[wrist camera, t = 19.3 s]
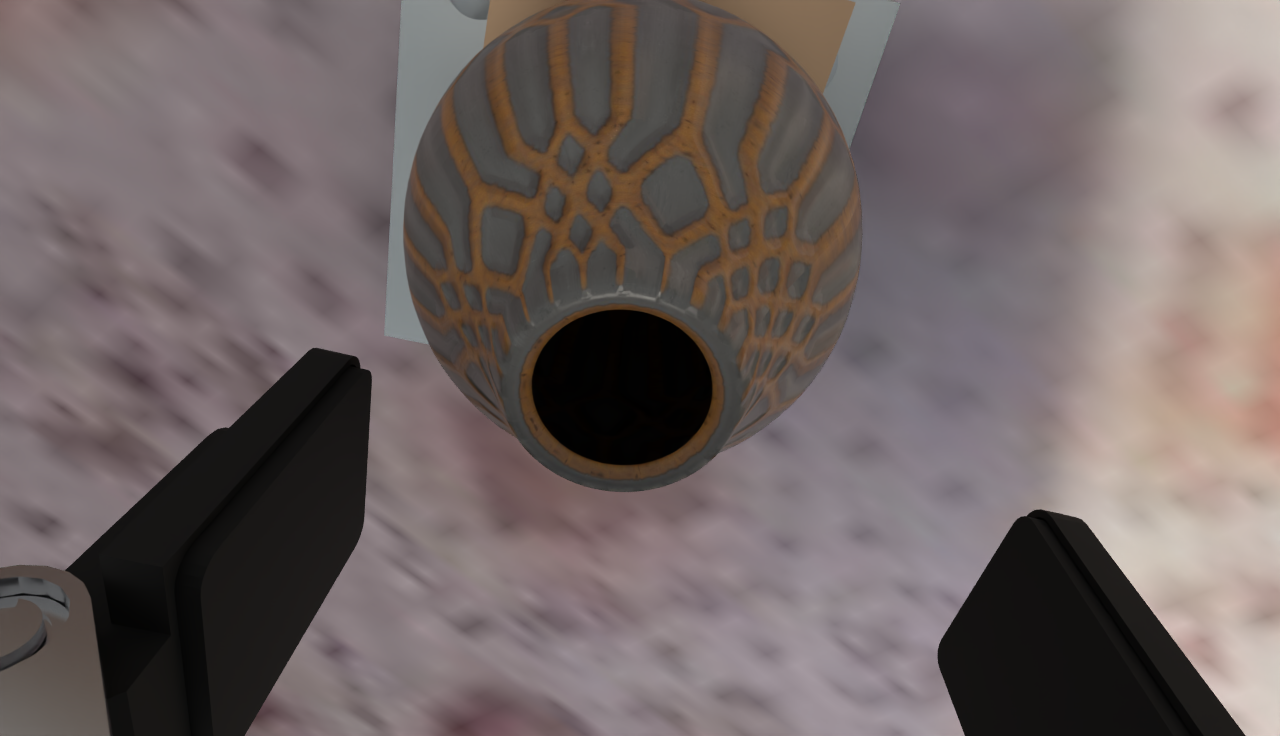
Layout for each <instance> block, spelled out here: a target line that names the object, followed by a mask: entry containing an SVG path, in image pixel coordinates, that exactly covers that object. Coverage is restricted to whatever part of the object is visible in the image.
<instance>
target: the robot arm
mask: <svg viewBox="0 0 1280 736" xmlns="http://www.w3.org/2000/svg"><path fill="white" fill-rule="evenodd" d="M371 386H372V376H371V372H370V371H369V370H365V369H360V363H359V359H358V358H357V357H355V356H351V355H346V354H342V353H337V352H333V351H328V350H324V349H319V348H312V349H311V350H309V351H308V352H307V353H306V354H305V355H304V356H303V357H302V358H301V359H300V360H299V361H298V362H297V363H296V364H295V365H294V366H293V367H292V368H291V369H290V370H288V371H287V372H286V373H285V374H284V375H283V376H282V377H281V378H280V379H279V380H278V381H277V382H276V383H275V384H274V385H273V386H272V387H271V388H270V389H269V390H268V391H267V392H266V393H265V394H264V395H263V396H262V397H261V398H260V399H259V400H258V401H256V402H255V403H254V404H253V405H252V406H251V407H250V408H249V409H248V410H247V411H246V412H245V413H244V414H243V415H242V416H241V417H240V418H239V419H238V420H237V421H236V422H235V423H234V424H233V425H232V426H231V427H230V428H226V427H225V428H221V429H217V430H216V431H214V432H213V433H211V434H210V435H209V436H207V437H206V438H205V439H204V440H203V441H202V442H201V443H200V444H199V445H198V446H197V447H196V448H195V449H194V450H193V451H191V452H190V453H189V454H188V455H187V456H186V457H185V458H184V459H183V460H182V461H181V462H180V463H179V464H178V465H177V466H176V467H174V468H173V469H172V470H171V471H170V472H169V473H168V474H167V475H166V476H165V477H164V478H163V479H162V480H161V481H160V482H159V483H157V484H156V485H155V486H154V487H153V488H152V489H151V490H150V491H149V492H148V493H147V494H146V495H145V496H144V497H143V498H142V499H141V500H139V501H138V502H137V503H136V504H135V505H134V506H133V507H132V508H131V509H130V510H129V511H128V512H127V513H126V514H125V515H124V516H122V517H121V518H120V519H119V520H118V521H117V522H116V523H115V524H114V525H113V526H112V527H111V528H110V529H109V530H108V531H107V532H105V533H104V534H103V535H102V536H101V537H100V538H99V539H98V540H97V541H96V542H95V543H94V544H93V545H92V546H91V547H90V548H88V549H87V550H86V551H85V552H84V553H83V554H82V555H81V556H80V557H79V558H78V559H77V560H76V561H75V562H74V563H73V564H72V565H70V566H69V567H68V568H67V569H66V570H65V571H64V570H60V569H57V568H53V567H49V566H38V565H15V566H8V567H2V568H0V736H245V734H246V732H247V731H248V729H249V727H250V725H251V724H252V722H253V720H254V719H255V717H256V715H257V713H258V712H259V710H260V708H261V707H262V705H263V703H264V702H265V700H266V698H267V696H268V695H269V693H270V691H271V690H272V688H273V686H274V685H275V683H276V681H277V679H278V678H279V676H280V674H281V673H282V671H283V669H284V668H285V666H286V664H287V662H288V661H289V659H290V657H291V656H292V654H293V652H294V650H295V649H296V647H297V645H298V644H299V642H300V640H301V639H302V637H303V635H304V633H305V632H306V630H307V628H308V627H309V625H310V623H311V622H312V620H313V618H314V616H315V615H316V613H317V611H318V610H319V608H320V606H321V604H322V603H323V601H324V599H325V598H326V596H327V594H328V593H329V591H330V589H331V587H332V586H333V584H334V582H335V581H336V579H337V577H338V576H339V574H340V572H341V570H342V569H343V567H344V565H345V564H346V562H347V560H348V559H349V557H350V555H351V553H352V552H353V550H354V548H355V546H356V545H357V543H358V540H359V538H360V535H361V532H362V528H363V524H364V513H365V495H366V476H367V458H368V440H369V422H370V404H371ZM938 664H939V668H940V671H941V673H942V676H943V679H944V681H945V684H946V687H947V689H948V692H949V695H950V697H951V700H952V703H953V705H954V708H955V710H956V713H957V716H958V718H959V721H960V724H961V726H962V729H963V732H964V734H965V736H1245V734H1244V733H1243V732H1242V730H1241V729H1240V728H1239V726H1238V725H1237V724H1236V722H1235V721H1234V720H1233V718H1232V717H1231V716H1230V714H1229V713H1228V712H1227V710H1226V709H1225V708H1224V706H1223V705H1222V704H1221V702H1220V701H1219V700H1218V698H1217V697H1216V696H1215V694H1214V693H1213V692H1212V690H1211V689H1210V688H1209V686H1208V685H1207V684H1206V682H1205V681H1204V680H1203V678H1202V677H1201V676H1200V674H1199V673H1198V672H1197V670H1196V669H1195V668H1194V666H1193V665H1192V664H1191V662H1190V661H1189V660H1188V659H1187V657H1186V656H1185V655H1184V653H1183V652H1182V651H1181V649H1180V648H1179V647H1178V645H1177V644H1176V643H1175V641H1174V640H1173V639H1172V637H1171V636H1170V635H1169V633H1168V632H1167V631H1166V629H1165V628H1164V627H1163V625H1162V624H1161V623H1160V621H1159V620H1158V619H1157V617H1156V616H1155V615H1154V613H1153V612H1152V611H1151V609H1150V608H1149V607H1148V605H1147V604H1146V603H1145V601H1144V600H1143V599H1142V597H1141V596H1140V595H1139V593H1138V592H1137V591H1136V589H1135V588H1134V587H1133V585H1132V584H1131V583H1130V581H1129V580H1128V579H1127V577H1126V576H1125V575H1124V573H1123V572H1122V571H1121V569H1120V568H1119V567H1118V565H1117V564H1116V563H1115V561H1114V560H1113V559H1112V557H1111V556H1110V555H1109V553H1108V552H1107V551H1106V549H1105V548H1104V547H1103V545H1102V544H1101V543H1100V541H1099V540H1098V539H1097V537H1096V536H1095V535H1094V533H1093V532H1092V531H1091V529H1090V528H1089V527H1088V525H1087V524H1086V523H1085V522H1084V521H1083V520H1081V519H1079V518H1076V517H1072V516H1068V515H1063V514H1059V513H1054V512H1050V511H1045V510H1041V509H1040V510H1034V511H1032V512H1031V513H1029V514H1028V515H1027V517H1026V516H1024V517H1020V518H1018V519H1017V520H1016V521H1015V522H1014V524H1013V525H1012V527H1011V528H1010V530H1009V532H1008V533H1007V535H1006V536H1005V538H1004V540H1003V541H1002V543H1001V544H1000V546H999V548H998V549H997V551H996V552H995V554H994V556H993V557H992V559H991V561H990V562H989V564H988V565H987V567H986V569H985V570H984V572H983V573H982V575H981V577H980V578H979V580H978V581H977V583H976V585H975V586H974V588H973V589H972V591H971V593H970V594H969V596H968V598H967V599H966V601H965V602H964V604H963V606H962V607H961V609H960V610H959V612H958V614H957V615H956V617H955V618H954V620H953V622H952V623H951V625H950V627H949V628H948V630H947V631H946V633H945V635H944V636H943V638H942V639H941V642H940V644H939V648H938Z"/></svg>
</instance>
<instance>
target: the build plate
mask: <svg viewBox="0 0 1280 736" xmlns="http://www.w3.org/2000/svg"><path fill="white" fill-rule="evenodd" d="M849 1H852V2H856V3H855V6H854V9H853V12H852V15H851V17H850V20H849V23H848V26H847V28H846V31H845V34H844V37H843V40H842V42H841V45H840V48H839V51H838V53H837V56H836V59H835V62H834V64H833V67H832V70H831V73H830V76H829V78H828V81H827V84H826V87H825V89H824V92H823V95H824V97H825V98H826V100H827V102H828V104H829V105H830V107H831V109H832V110H833V112H834V114H835V116H836V118H837V120H838V123H839V125H840V127H841V129H842V131H843V134H844V137H845V139H846V142H847V145H848V148H849V149H850V146H851V143H852V140H853V137H854V134H855V132H856V129H857V126H858V123H859V120H860V117H861V114H862V112H863V109H864V106H865V103H866V100H867V97H868V94H869V92H870V89H871V86H872V83H873V80H874V77H875V74H876V72H877V69H878V66H879V63H880V60H881V57H882V55H883V52H884V49H885V46H886V43H887V40H888V37H889V35H890V32H891V29H892V26H893V23H894V20H895V17H896V15H897V12H898V9H899V6H900V3H898V2H894V1H890V0H849ZM489 4H490V0H401V19H400V38H399V58H398V77H397V97H396V116H395V136H394V155H393V175H392V195H391V214H390V234H389V253H388V273H387V292H386V312H385V331H384V335H385V336H390V337H395V338H400V339H405V340H410V341H415V342H420V343H425V344H429V343H428V341H427V339H426V336H425V334H424V332H423V329H422V327H421V325H420V322H419V319H418V317H417V314H416V311H415V308H414V305H413V301H412V298H411V294H410V290H409V285H408V279H407V274H406V267H405V258H404V247H403V223H404V208H405V198H406V191H407V185H408V180H409V176H410V172H411V168H412V164H413V160H414V156H415V153H416V150H417V147H418V144H419V142H420V139H421V136H422V134H423V132H424V130H425V127H426V125H427V123H428V121H429V119H430V117H431V115H432V114H433V112H434V110H435V108H436V106H437V104H438V103H439V101H440V99H441V98H442V96H443V95H444V93H445V92H446V90H447V89H448V87H449V86H450V84H451V83H452V82H453V80H454V79H455V78H456V77H457V75H458V74H459V73H460V72H461V70H462V69H463V68H464V67H465V66H466V65H467V64H468V63H469V62H470V61H471V60H472V58H473V57H474V56H475V55H476V54H477V53H479V52H480V51H481V50H482V49H483V46H484V39H485V32H486V25H487V18H488V11H489Z"/></svg>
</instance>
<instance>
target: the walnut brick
mask: <svg viewBox="0 0 1280 736" xmlns="http://www.w3.org/2000/svg"><path fill="white" fill-rule="evenodd" d="M565 1H568V0H490V4H489V11H488V18H487V25H486V32H485V39H484V46H483V48H484V47H485V46H487V45H488V44H489V43H490V42H491V41H493V40H494V39H495V38H497V37H498V36H499V35H501V34H502V33H504V32H505V31H506V30H508V29H509V28H511V27H513V26H514V25H516V24H518V23H519V22H521V21H523V20H524V19H526V18H528V17H529V16H532V15H534V14H536V13H538V12H540V11H542V10H544V9H546V8H549V7H551V6H554V5H556V4H559V3H562V2H565ZM699 1H702V2H705V3H707V4H710V5H713V6H716V7H718V8H720V9H723V10H725V11H727V12H729V13H731V14H733V15H736V16H737V17H739V18H741V19H743V20H744V21H746V22H748V23H749V24H751V25H753V26H754V27H756V28H757V29H759V30H760V31H761V32H763V33H764V34H766V35H767V36H769V37H770V38H771V39H772V40H773V41H775V42H776V43H777V44H778V45H779V46H780V47H782V48H783V49H784V50H785V51H786V52H787V53H788V54H789V55H790V56H791V57H792V58H793V59H794V60H795V61H796V62H797V63H798V64H799V65H800V66H801V67H802V68H803V69H804V70H805V72H806V73H807V74H808V75H809V76H810V77H811V79H812V80H813V81H814V82H815V84H816V85H817V87H818V88H819V90H820V91H821V92H822V94H823V92H824V89H825V87H826V84H827V81H828V78H829V76H830V73H831V70H832V67H833V64H834V62H835V59H836V56H837V53H838V51H839V48H840V45H841V42H842V40H843V37H844V34H845V31H846V28H847V26H848V23H849V20H850V17H851V15H852V12H853V9H854V6H855V3H856V2H852V1H849V0H699Z"/></svg>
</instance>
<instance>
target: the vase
mask: <svg viewBox="0 0 1280 736" xmlns="http://www.w3.org/2000/svg"><path fill="white" fill-rule="evenodd" d="M403 247H404V258H405V267H406V274H407V279H408V285H409V290H410V294H411V298H412V301H413V305H414V308H415V311H416V314H417V317H418V319H419V322H420V325H421V327H422V329H423V332H424V334H425V336H426V339H427V341H428V343H429V345H430V347H431V349H432V351H433V352H434V354H435V356H436V358H437V359H438V361H439V363H440V364H441V366H442V367H443V369H444V370H445V372H446V373H447V374H448V376H449V377H450V378H451V380H452V381H453V382H454V384H455V385H456V386H457V387H458V388H459V389H460V391H461V392H462V393H463V394H464V395H465V396H466V398H467V399H468V400H469V401H470V402H471V403H472V404H473V405H474V406H475V407H476V408H477V409H478V410H479V411H481V412H482V413H483V414H484V415H485V416H486V417H487V418H489V419H490V420H491V421H492V422H494V423H495V424H496V425H498V426H499V427H500V428H502V429H503V430H505V431H506V432H508V433H509V434H511V435H512V436H514V437H516V438H517V439H518V440H519V442H520V443H521V444H522V445H523V447H524V448H525V449H526V450H527V451H528V452H529V453H530V454H531V455H532V456H533V457H534V458H535V459H536V460H537V461H538V462H539V463H541V464H542V465H543V466H545V467H546V468H548V469H549V470H551V471H552V472H554V473H556V474H557V475H559V476H561V477H563V478H565V479H567V480H569V481H572V482H574V483H577V484H580V485H583V486H586V487H590V488H594V489H599V490H605V491H614V492H636V491H644V490H650V489H655V488H659V487H663V486H666V485H669V484H672V483H675V482H677V481H680V480H682V479H684V478H686V477H688V476H689V475H691V474H693V473H695V472H696V471H698V470H699V469H701V468H702V467H703V466H705V465H706V464H707V463H708V462H709V461H711V460H712V459H713V458H714V457H715V456H716V455H717V454H718V453H720V452H723V451H725V450H727V449H729V448H731V447H733V446H735V445H737V444H739V443H741V442H743V441H744V440H746V439H748V438H750V437H751V436H753V435H754V434H756V433H757V432H759V431H760V430H762V429H763V428H765V427H766V426H767V425H769V424H770V423H771V422H772V421H774V420H775V419H776V418H777V417H778V416H780V415H781V414H782V413H783V412H784V411H785V410H786V409H787V408H789V407H790V406H791V405H792V404H793V403H794V402H795V401H796V400H797V399H798V398H799V397H800V396H801V395H802V393H803V392H804V391H805V390H806V389H807V387H808V386H809V385H810V384H811V383H812V381H813V380H814V378H815V377H816V376H817V374H818V373H819V371H820V370H821V369H822V367H823V365H824V364H825V362H826V360H827V359H828V357H829V355H830V354H831V352H832V350H833V348H834V346H835V344H836V342H837V340H838V338H839V336H840V334H841V332H842V329H843V327H844V324H845V322H846V319H847V316H848V313H849V310H850V307H851V304H852V300H853V297H854V293H855V289H856V284H857V280H858V274H859V268H860V260H861V249H862V210H861V200H860V191H859V184H858V179H857V175H856V171H855V167H854V162H853V159H852V156H851V154H850V151H849V148H848V145H847V142H846V139H845V137H844V134H843V131H842V129H841V127H840V125H839V123H838V120H837V118H836V116H835V114H834V112H833V110H832V109H831V107H830V105H829V104H828V102H827V100H826V98H825V97H824V95H823V94H822V92H821V91H820V90H819V88H818V87H817V85H816V84H815V82H814V81H813V80H812V79H811V77H810V76H809V75H808V74H807V73H806V72H805V70H804V69H803V68H802V67H801V66H800V65H799V64H798V63H797V62H796V61H795V60H794V59H793V58H792V57H791V56H790V55H789V54H788V53H787V52H786V51H785V50H784V49H783V48H782V47H780V46H779V45H778V44H777V43H776V42H775V41H773V40H772V39H771V38H770V37H769V36H767V35H766V34H764V33H763V32H761V31H760V30H759V29H757V28H756V27H754V26H753V25H751V24H749V23H748V22H746V21H744V20H743V19H741V18H739V17H737V16H736V15H733V14H731V13H729V12H727V11H725V10H723V9H720V8H718V7H716V6H713V5H710V4H707V3H705V2H702V1H699V0H568V1H565V2H562V3H559V4H556V5H554V6H551V7H549V8H546V9H544V10H542V11H540V12H538V13H536V14H534V15H532V16H529V17H528V18H526V19H524V20H523V21H521V22H519V23H518V24H516V25H514V26H513V27H511V28H509V29H508V30H506V31H505V32H504V33H502V34H501V35H499V36H498V37H497V38H495V39H494V40H493V41H491V42H490V43H489V44H488V45H487V46H485V47H484V48H483V49H482V50H481V51H480V52H479V53H477V54H476V55H475V56H474V57H473V58H472V60H471V61H470V62H469V63H468V64H467V65H466V66H465V67H464V68H463V69H462V70H461V72H460V73H459V74H458V75H457V77H456V78H455V79H454V80H453V82H452V83H451V84H450V86H449V87H448V89H447V90H446V92H445V93H444V95H443V96H442V98H441V99H440V101H439V103H438V104H437V106H436V108H435V110H434V112H433V114H432V115H431V117H430V119H429V121H428V123H427V125H426V127H425V130H424V132H423V134H422V136H421V139H420V142H419V144H418V147H417V150H416V153H415V156H414V160H413V164H412V168H411V172H410V176H409V180H408V185H407V191H406V198H405V208H404V223H403Z"/></svg>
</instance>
